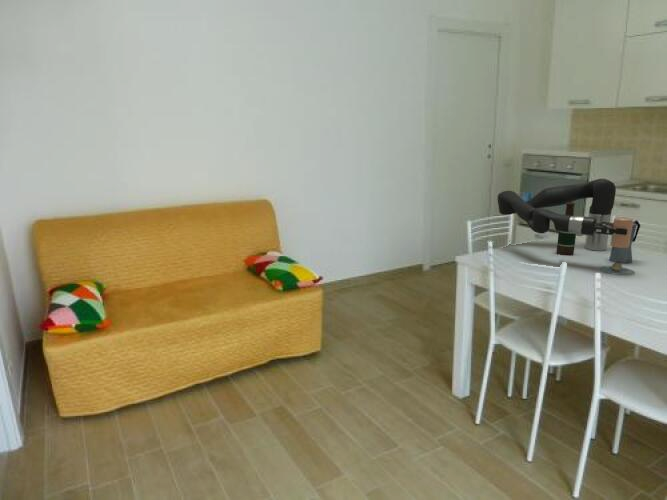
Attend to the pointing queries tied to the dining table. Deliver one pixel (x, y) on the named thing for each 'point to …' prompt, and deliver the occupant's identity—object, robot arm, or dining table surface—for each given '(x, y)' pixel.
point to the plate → (621, 272)
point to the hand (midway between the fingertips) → (628, 230)
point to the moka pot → (625, 253)
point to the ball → (616, 266)
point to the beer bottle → (567, 236)
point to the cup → (619, 239)
